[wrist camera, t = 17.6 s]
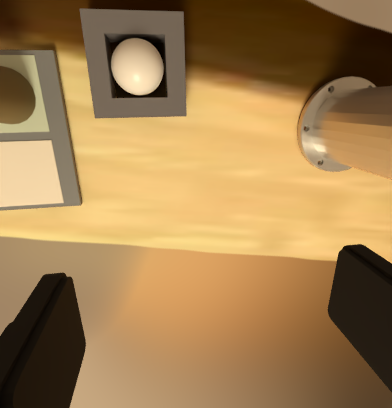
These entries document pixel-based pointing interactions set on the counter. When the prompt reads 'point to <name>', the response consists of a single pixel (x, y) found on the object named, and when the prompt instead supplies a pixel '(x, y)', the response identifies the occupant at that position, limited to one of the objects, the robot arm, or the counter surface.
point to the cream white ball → (137, 66)
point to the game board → (38, 140)
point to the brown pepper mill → (15, 97)
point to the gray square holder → (122, 30)
